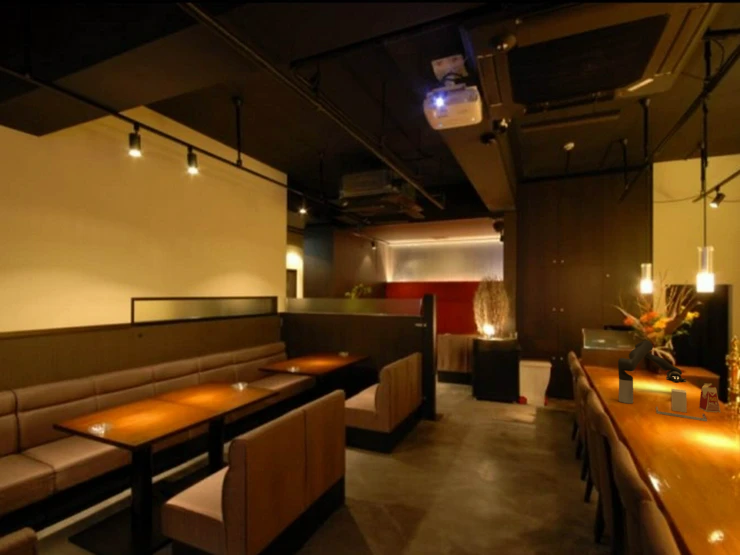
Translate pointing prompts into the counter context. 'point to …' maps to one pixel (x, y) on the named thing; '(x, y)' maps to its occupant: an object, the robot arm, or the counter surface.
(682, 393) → the carton
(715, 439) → the counter surface
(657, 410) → the metal staple
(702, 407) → the milk carton
